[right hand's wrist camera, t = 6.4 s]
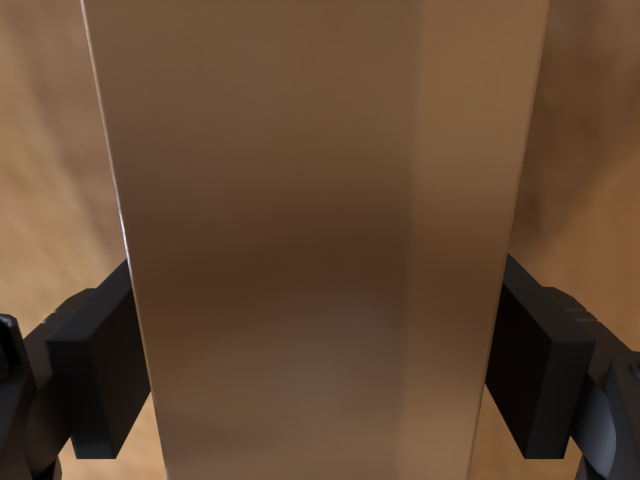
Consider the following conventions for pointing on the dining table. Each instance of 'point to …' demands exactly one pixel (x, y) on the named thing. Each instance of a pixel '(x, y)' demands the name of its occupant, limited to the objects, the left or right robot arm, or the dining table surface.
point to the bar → (316, 222)
